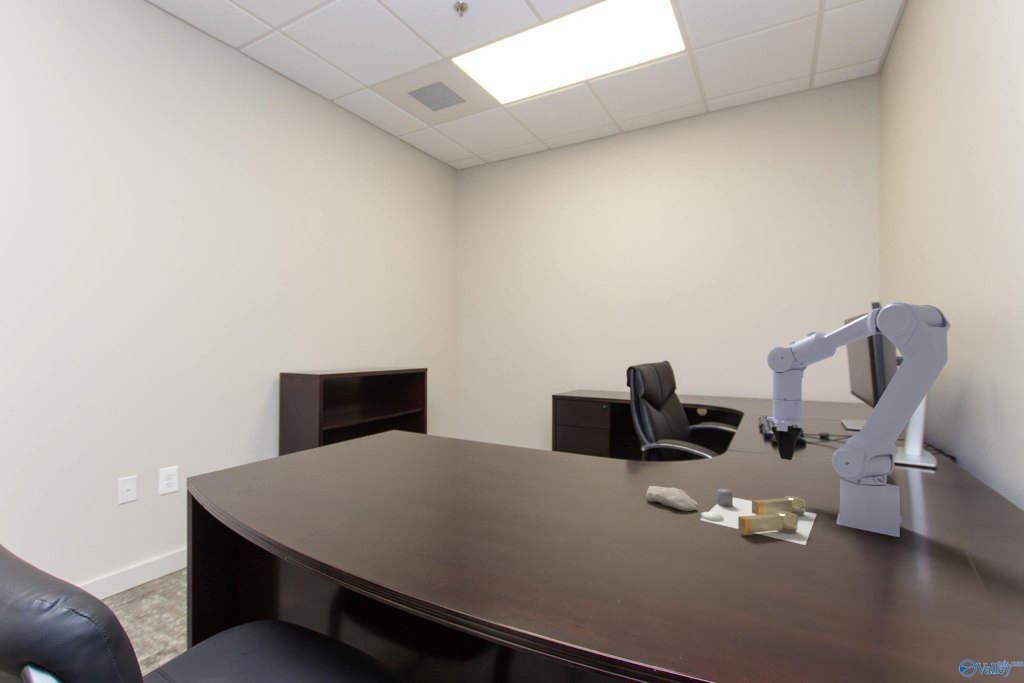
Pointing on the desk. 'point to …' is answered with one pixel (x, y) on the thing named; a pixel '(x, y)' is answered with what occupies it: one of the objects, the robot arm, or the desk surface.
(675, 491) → the decorative stone
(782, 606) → the desk surface
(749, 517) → the translucent tan bar
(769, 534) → the levelling base
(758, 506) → the far capped tube
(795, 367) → the robot arm
